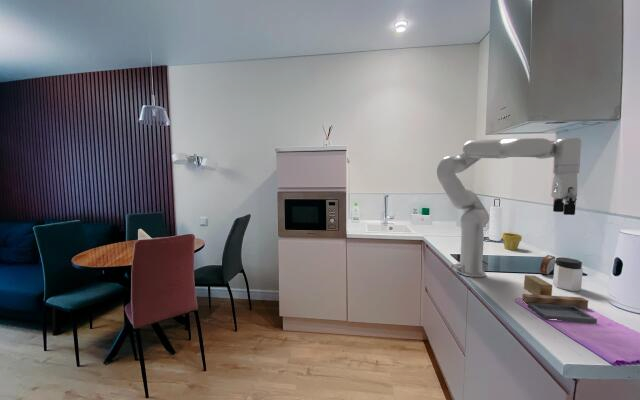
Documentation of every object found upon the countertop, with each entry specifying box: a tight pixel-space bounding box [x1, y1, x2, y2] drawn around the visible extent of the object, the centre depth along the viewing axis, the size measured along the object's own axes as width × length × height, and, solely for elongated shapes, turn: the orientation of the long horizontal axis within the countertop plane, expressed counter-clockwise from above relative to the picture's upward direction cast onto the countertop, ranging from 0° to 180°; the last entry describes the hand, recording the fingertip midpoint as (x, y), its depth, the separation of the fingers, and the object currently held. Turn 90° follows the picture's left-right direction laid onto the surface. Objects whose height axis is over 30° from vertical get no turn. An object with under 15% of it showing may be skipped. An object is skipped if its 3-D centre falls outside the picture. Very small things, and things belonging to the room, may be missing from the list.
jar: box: [552, 256, 584, 292], centre depth 113 cm, size 9×8×12 cm
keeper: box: [527, 303, 598, 324], centre depth 91 cm, size 15×9×2 cm, turn 82°
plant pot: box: [501, 232, 523, 251], centre depth 174 cm, size 10×10×10 cm
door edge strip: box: [521, 293, 589, 309], centre depth 97 cm, size 20×2×3 cm, turn 82°
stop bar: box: [523, 274, 553, 296], centre depth 107 cm, size 4×10×6 cm, turn 172°
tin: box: [539, 254, 556, 276], centre depth 130 cm, size 15×3×8 cm, turn 127°
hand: (563, 213), depth 105 cm, fingers open, 9 cm apart
